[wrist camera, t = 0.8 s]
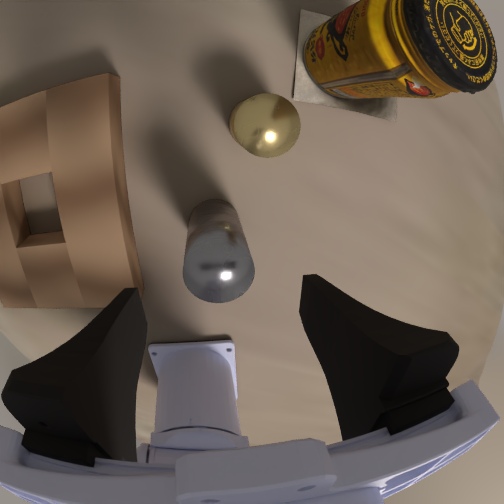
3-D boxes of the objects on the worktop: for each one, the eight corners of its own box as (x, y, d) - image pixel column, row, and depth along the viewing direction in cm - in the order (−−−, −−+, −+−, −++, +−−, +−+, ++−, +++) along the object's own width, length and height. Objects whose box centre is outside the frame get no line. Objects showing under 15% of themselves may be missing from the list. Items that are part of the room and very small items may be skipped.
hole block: (144, 288, 22) (138, 306, 20) (15, 292, 20) (3, 307, 18) (120, 77, 15) (108, 72, 13) (-23, 124, 13) (-41, 128, 11)
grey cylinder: (239, 244, 22) (254, 299, 15) (191, 248, 21) (187, 305, 15) (238, 198, 20) (254, 238, 14) (187, 201, 20) (178, 243, 13)
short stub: (281, 149, 19) (299, 157, 15) (229, 150, 18) (234, 158, 15) (282, 98, 17) (300, 95, 14) (228, 97, 17) (234, 92, 13)
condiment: (299, 9, 14) (394, -68, 4) (399, 40, 16) (519, 25, 5) (292, 100, 17) (400, 90, 7) (393, 121, 19) (520, 150, 8)
